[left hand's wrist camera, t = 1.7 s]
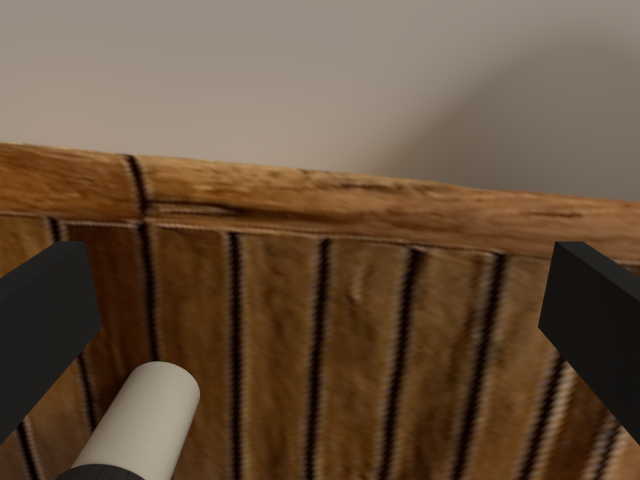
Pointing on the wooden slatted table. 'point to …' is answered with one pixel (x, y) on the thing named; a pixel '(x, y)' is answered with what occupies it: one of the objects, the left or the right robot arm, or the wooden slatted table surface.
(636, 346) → the left robot arm
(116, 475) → the lid
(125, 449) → the jar
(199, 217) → the wooden slatted table surface
